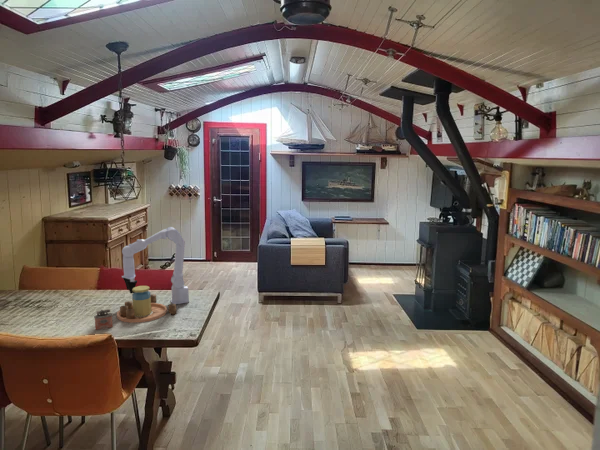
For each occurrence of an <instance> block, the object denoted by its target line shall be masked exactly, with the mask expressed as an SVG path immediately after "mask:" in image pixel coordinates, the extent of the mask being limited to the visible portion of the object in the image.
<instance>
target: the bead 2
mask: <svg viewBox="0 0 600 450" xmlns="http://www.w3.org/2000/svg"><path fill="white" fill-rule="evenodd" d="M167 307H168V308H167V309H168V314H170V316H175V315H177V304H172V303H170V304H168V306H167Z"/></svg>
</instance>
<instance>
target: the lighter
mask: <svg viewBox="0 0 600 450" xmlns="http://www.w3.org/2000/svg"><path fill="white" fill-rule="evenodd" d="M93 317H94V325H95V326H94V327H95V331H101V330H107V329H111V328H113V327H114V326H113V313H111V309H109V308H108V309H101V310H99V311H96V315H94V316H93Z"/></svg>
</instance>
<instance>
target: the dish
mask: <svg viewBox="0 0 600 450" xmlns="http://www.w3.org/2000/svg"><path fill="white" fill-rule="evenodd" d="M167 307H168V306H167V305H164V304H163V303H157V302H156V303H151V313H150V315H146V316H135V319H127V318H126V317H121V316H120V309H119V310H118V311H117V312H116V316H117V317H116V319H117V320H119V321H121V322H125V323H130V324H131V323H134V324H135V323H145V322H146V323H147V322H151V321H155V320H159V319H160V318H162V317H163V316H165V315H166V314H167V313H168V308H167Z"/></svg>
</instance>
